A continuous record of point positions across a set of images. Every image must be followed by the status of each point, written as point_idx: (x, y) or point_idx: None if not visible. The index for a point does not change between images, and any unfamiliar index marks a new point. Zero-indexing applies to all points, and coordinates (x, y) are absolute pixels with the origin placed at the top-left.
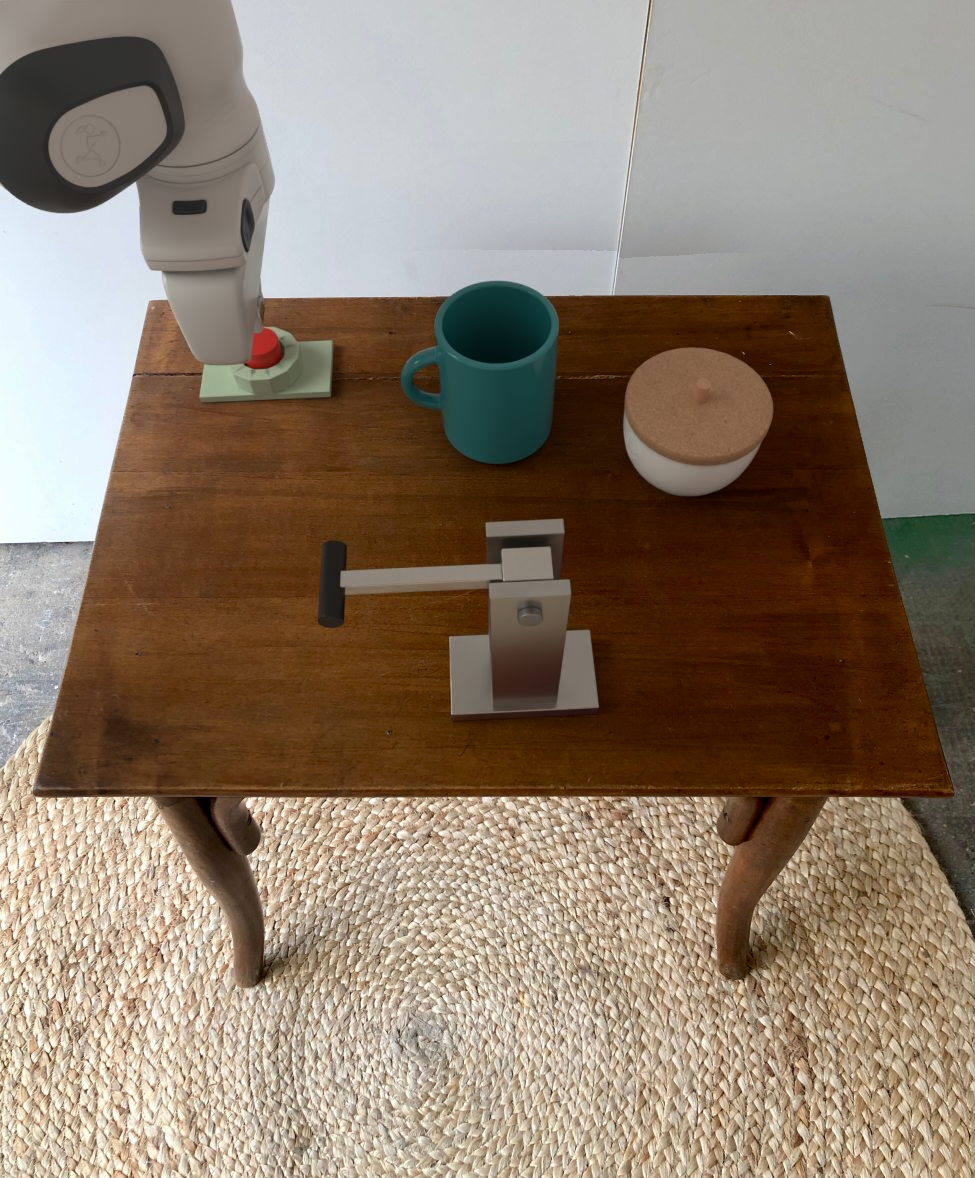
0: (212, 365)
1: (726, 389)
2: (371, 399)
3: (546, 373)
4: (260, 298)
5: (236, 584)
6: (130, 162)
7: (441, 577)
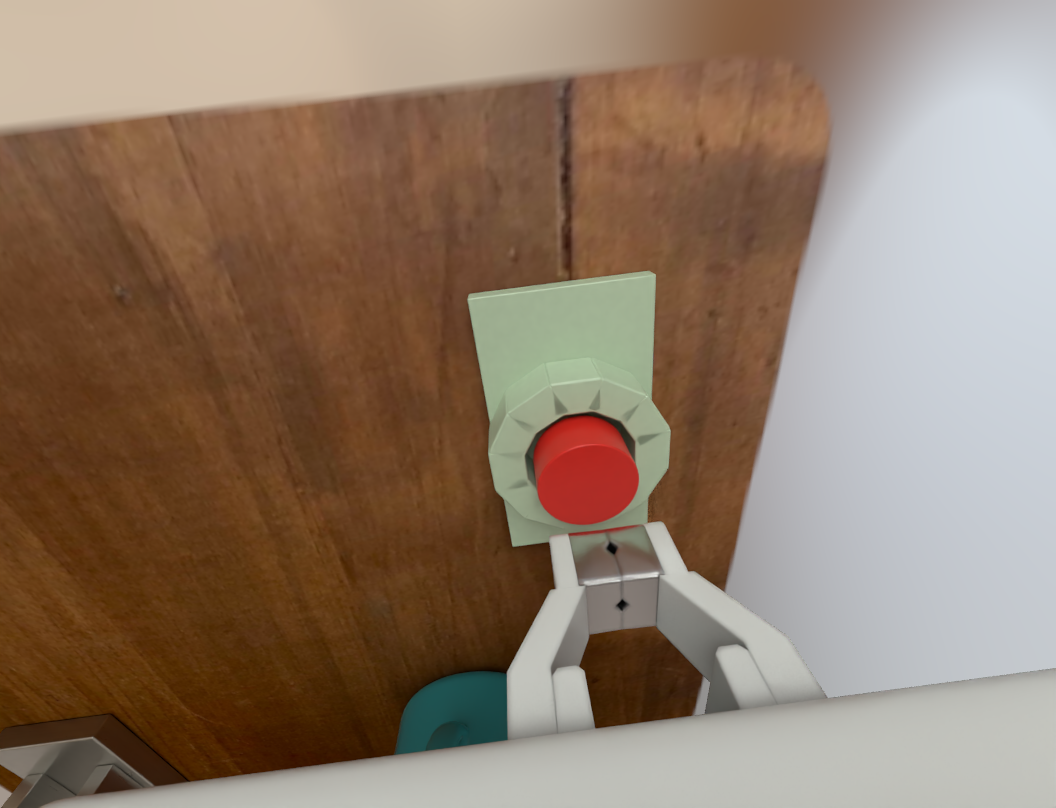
0: (581, 307)
1: None
2: (512, 585)
3: None
4: (645, 626)
5: (17, 476)
6: None
7: None
